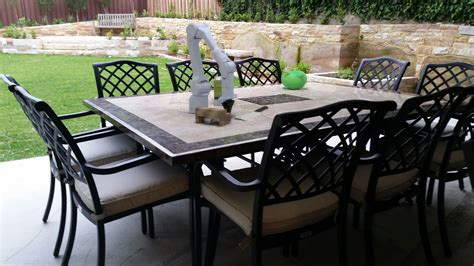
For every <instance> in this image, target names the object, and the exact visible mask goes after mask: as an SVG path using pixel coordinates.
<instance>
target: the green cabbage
mask: <svg viewBox="0 0 474 266" xmlns="http://www.w3.org/2000/svg"><path fill="white" fill-rule="evenodd" d="M282 72H283V73H282V75H281V76H280V77H281V78H280V79H281V84H282V85H283V86H284V87H285V88H287V89H290V90H298V89H302V88H303V87H304V86H306V84H307V83H308V76H307V74H306V73H305V72H304V71H302V70H300V69H298V68H297V67H294V68H292V69H288V70H282Z"/></svg>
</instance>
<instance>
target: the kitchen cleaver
mask: <svg viewBox="0 0 474 266" xmlns="http://www.w3.org/2000/svg"><path fill="white" fill-rule="evenodd" d="M266 110H269V107H268V106H266V105H264V106H262V107H260V108H257V109H255V110H253V111H252V112H249V113H246V114H241V115H237V116H235V117H234V118H235V119H238V120H240V121H241V120H242V121H245V120H246V121H245V122H249V121H248V120H251V119H252V118H254V117H256V116H258V115H260V114H262V112H264V111H266ZM251 121H252V120H251Z"/></svg>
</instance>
